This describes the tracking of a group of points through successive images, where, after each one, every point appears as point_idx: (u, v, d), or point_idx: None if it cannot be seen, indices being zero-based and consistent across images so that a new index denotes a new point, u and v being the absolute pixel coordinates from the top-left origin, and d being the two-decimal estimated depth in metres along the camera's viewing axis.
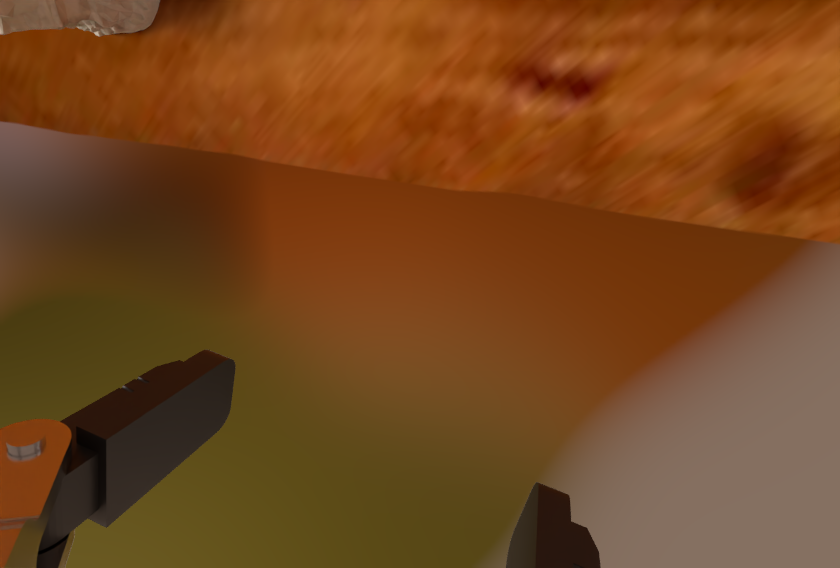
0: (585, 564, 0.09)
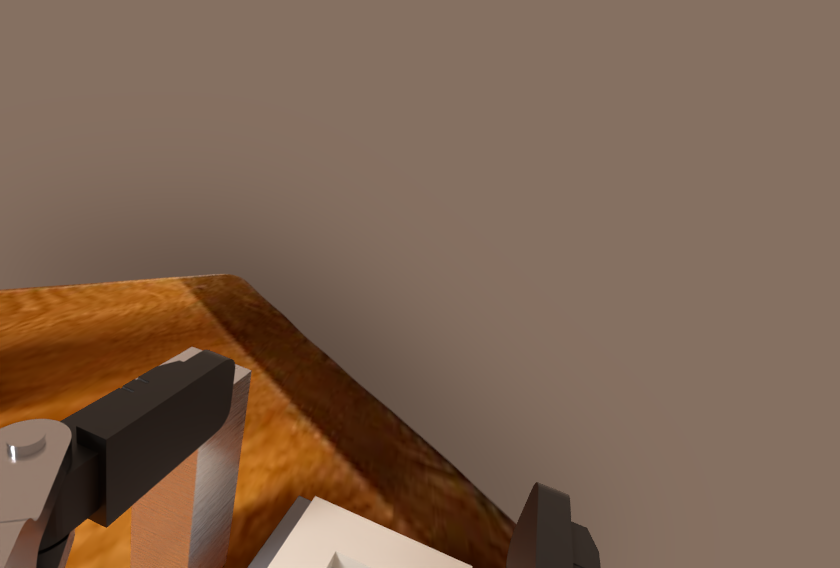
0: (585, 564, 0.09)
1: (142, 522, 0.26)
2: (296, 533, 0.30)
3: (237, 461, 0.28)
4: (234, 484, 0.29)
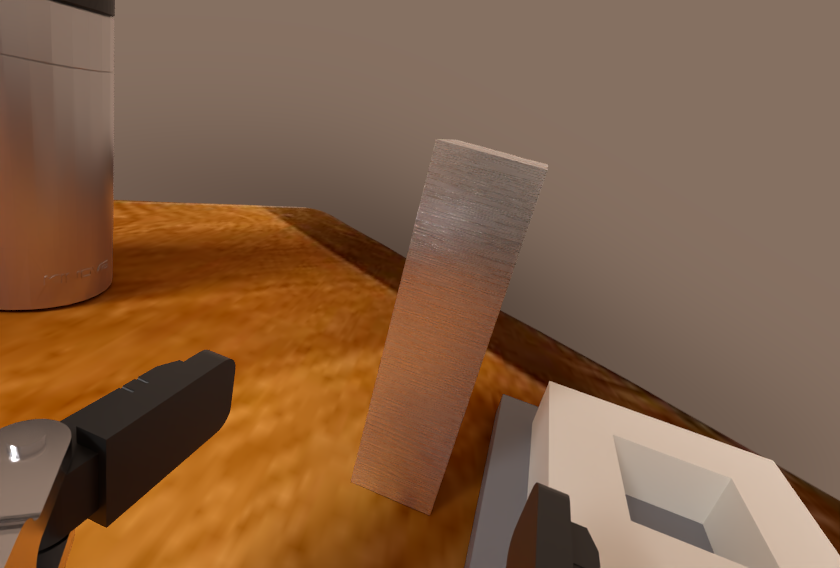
0: (585, 564, 0.09)
1: (395, 376, 0.19)
2: (556, 414, 0.23)
3: None
4: None
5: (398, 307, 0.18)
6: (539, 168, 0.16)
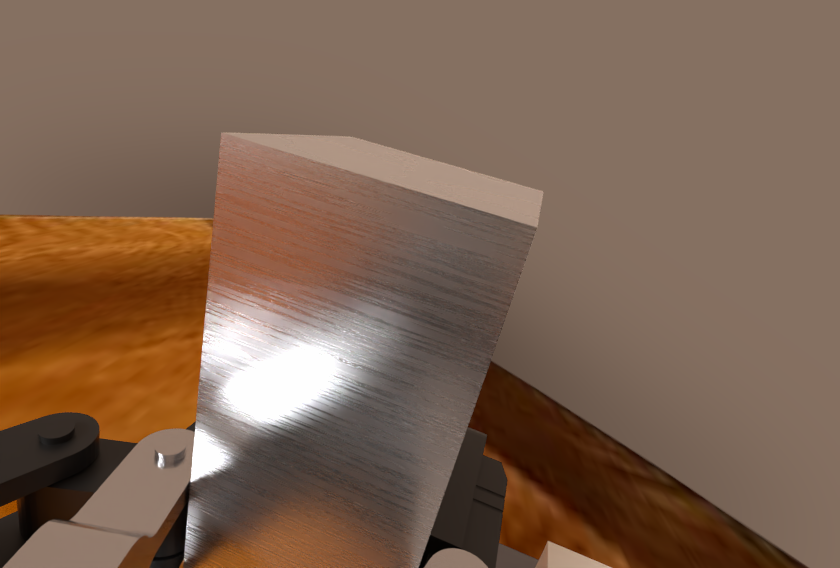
0: (492, 488, 0.10)
1: None
2: None
3: None
4: None
5: (195, 524, 0.08)
6: (512, 222, 0.05)
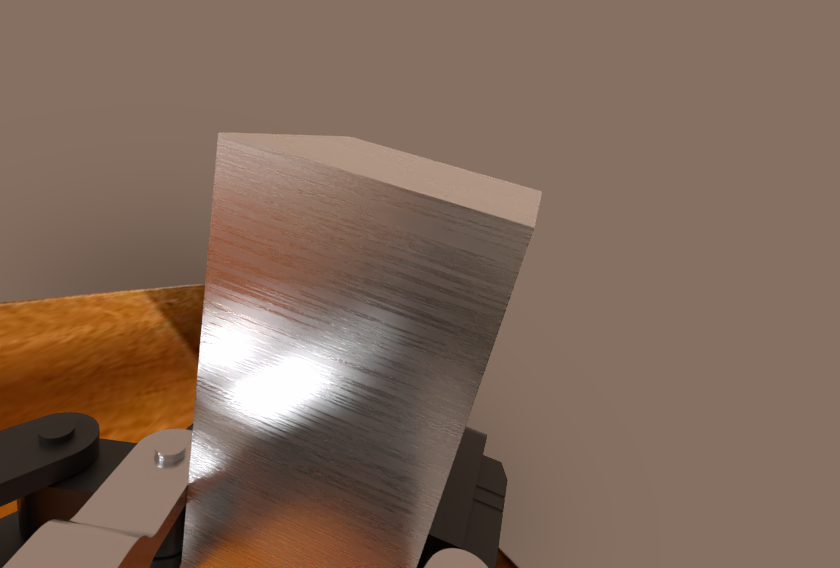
0: (492, 488, 0.10)
1: None
2: None
3: None
4: None
5: (193, 524, 0.08)
6: (510, 222, 0.05)
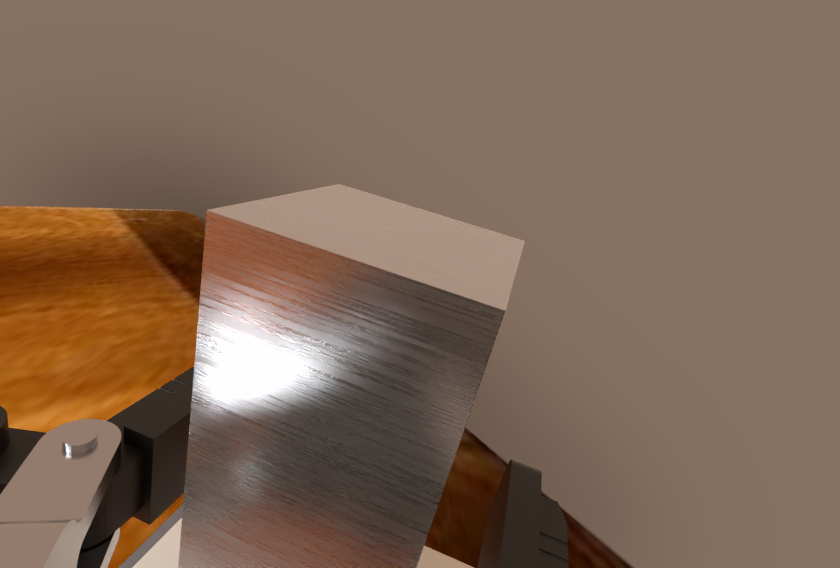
0: (553, 534, 0.09)
1: None
2: None
3: None
4: None
5: (186, 567, 0.08)
6: (482, 304, 0.05)
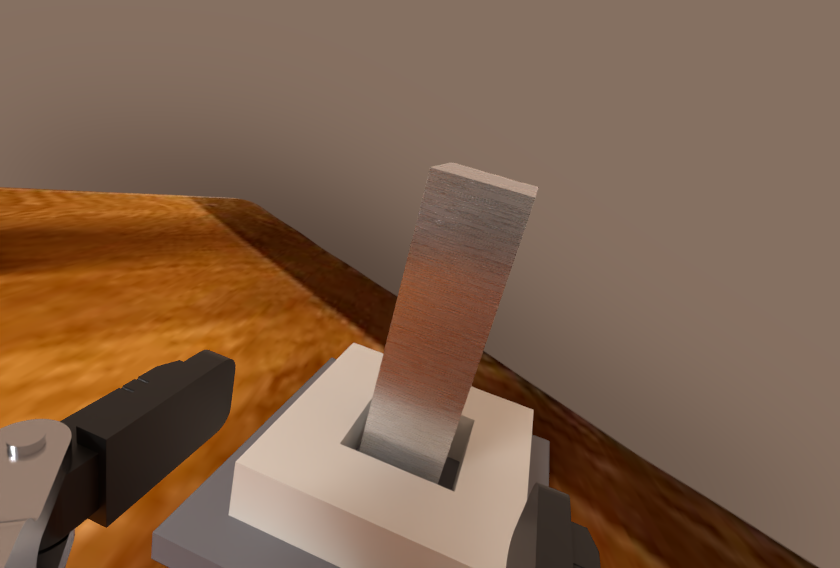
0: (585, 564, 0.09)
1: (391, 388, 0.20)
2: (336, 367, 0.27)
3: None
4: None
5: (394, 324, 0.19)
6: (527, 196, 0.16)
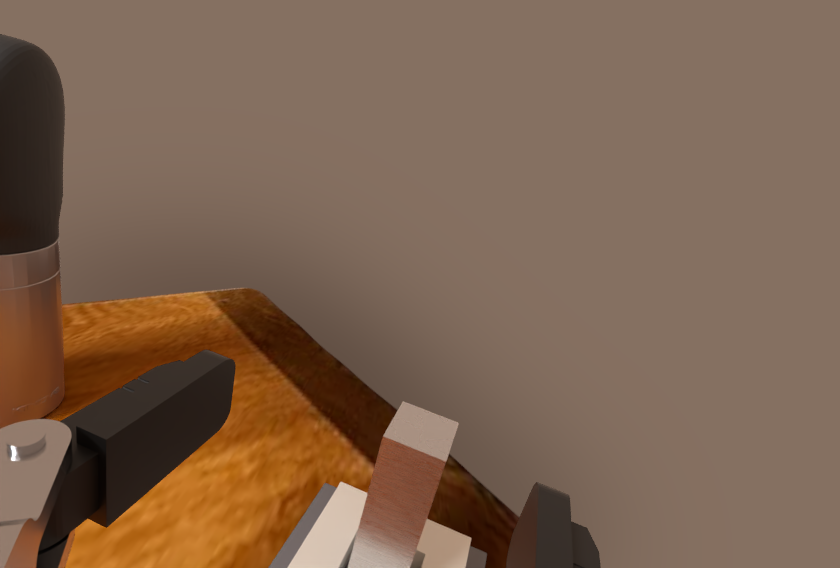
0: (585, 564, 0.09)
1: (362, 554, 0.31)
2: (327, 510, 0.37)
3: None
4: None
5: (363, 517, 0.30)
6: (441, 459, 0.27)
